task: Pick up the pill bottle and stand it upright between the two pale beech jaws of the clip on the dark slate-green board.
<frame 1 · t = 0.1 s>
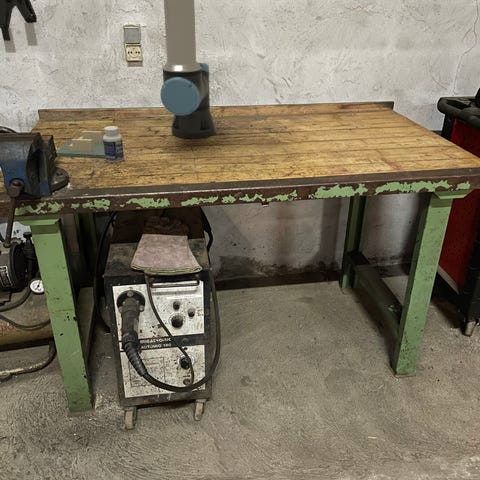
hand: (22, 48, 151), 28 cm above the table, fingers open, 13 cm apart
pill bottle: (115, 160, 148), on the table
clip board: (89, 149, 156), on the table
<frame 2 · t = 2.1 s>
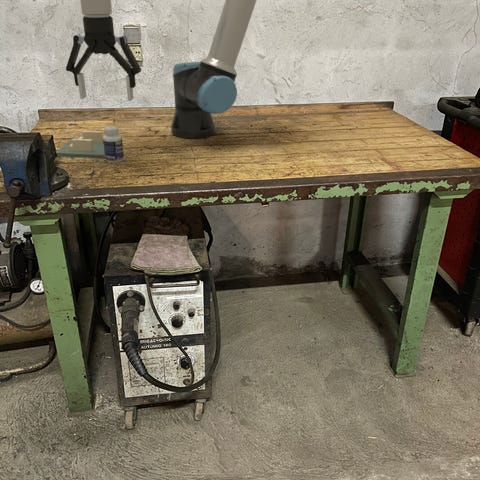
hand: (107, 98, 139), 18 cm above the table, fingers open, 13 cm apart
nothing on the table moved.
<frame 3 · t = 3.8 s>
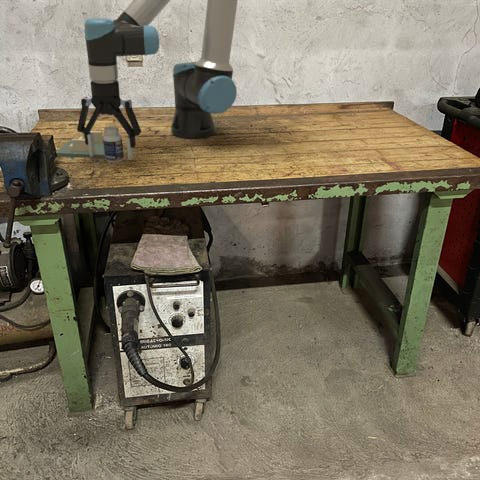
hand: (111, 156, 147), 1 cm above the table, fingers open, 11 cm apart
nothing on the table moved.
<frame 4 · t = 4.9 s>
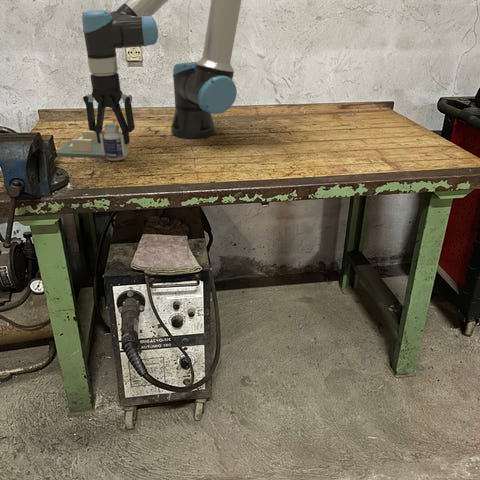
hand: (115, 153, 147), 2 cm above the table, fingers closed on pill bottle, 5 cm apart
pill bottle: (116, 158, 148), on the table, touching gripper
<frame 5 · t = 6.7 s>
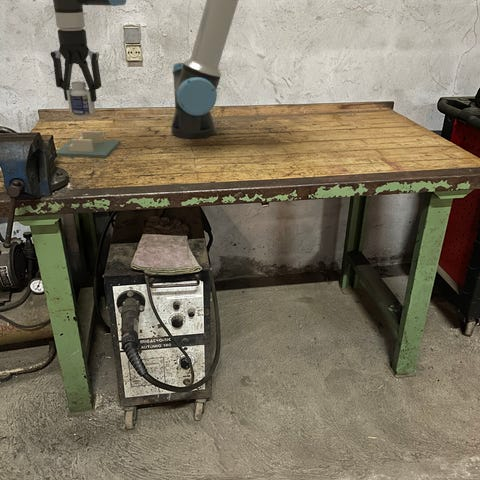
hand: (82, 111, 150), 12 cm above the table, fingers closed on pill bottle, 5 cm apart
pill bottle: (83, 116, 150), point 10 cm above the table, touching gripper
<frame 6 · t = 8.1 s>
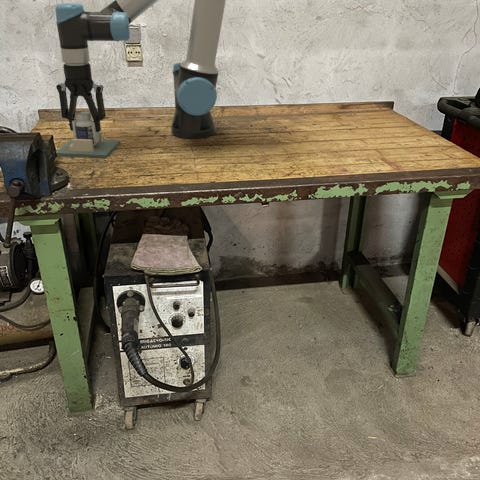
hand: (87, 141, 154), 3 cm above the table, fingers closed on pill bottle, 5 cm apart
pill bottle: (88, 145, 155), point 1 cm above the table, touching gripper
when the fingers open (3 cm above the table, at t = 8.5 s): pill bottle stays where it is, resting on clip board.
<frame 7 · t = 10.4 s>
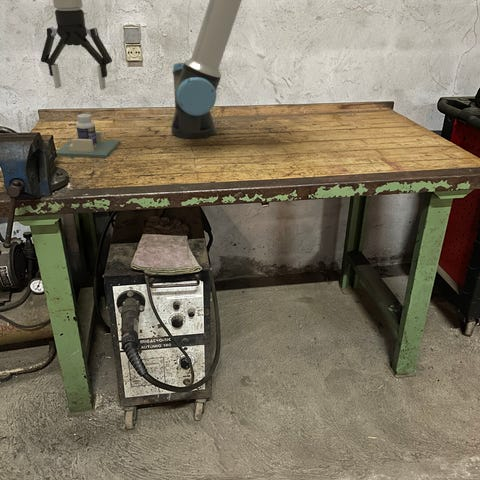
hand: (80, 88, 147), 19 cm above the table, fingers open, 13 cm apart
pill bottle: (88, 147, 155), point 1 cm above the table, touching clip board
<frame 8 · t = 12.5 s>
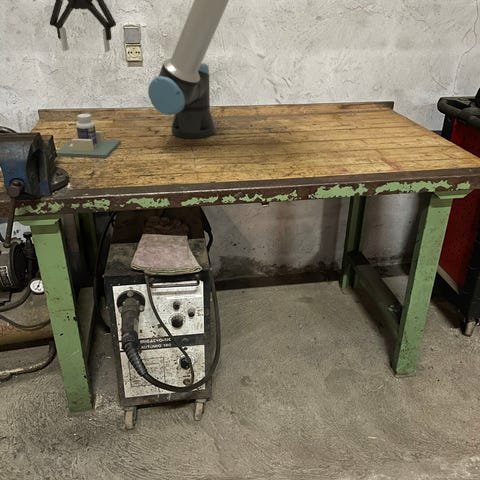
hand: (86, 50, 157), 27 cm above the table, fingers open, 13 cm apart
nothing on the table moved.
at the end: pill bottle 0.0 cm off-centre on the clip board, point 0.8 cm above the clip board's base; pill bottle tilted 0°; the gripper is holding nothing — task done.
